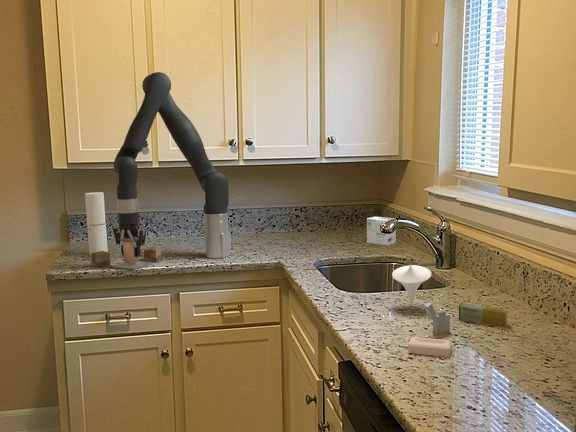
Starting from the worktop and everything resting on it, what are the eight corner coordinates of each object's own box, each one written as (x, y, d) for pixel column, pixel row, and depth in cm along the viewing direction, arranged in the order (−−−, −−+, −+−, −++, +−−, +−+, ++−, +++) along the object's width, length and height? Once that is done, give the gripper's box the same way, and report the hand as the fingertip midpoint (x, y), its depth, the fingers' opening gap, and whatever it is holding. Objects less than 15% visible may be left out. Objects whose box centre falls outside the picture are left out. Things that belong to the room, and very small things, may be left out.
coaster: (151, 264, 226) (151, 262, 226) (133, 270, 217) (133, 268, 217) (130, 262, 231) (129, 260, 231) (112, 268, 222) (111, 266, 222)
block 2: (161, 259, 234) (161, 247, 233) (156, 262, 229) (155, 250, 228) (149, 259, 235) (148, 247, 234) (144, 262, 230) (143, 249, 229)
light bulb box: (396, 243, 254) (396, 218, 253) (387, 246, 250) (387, 220, 248) (375, 240, 262) (375, 215, 260) (366, 242, 257) (366, 217, 255)
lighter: (445, 329, 151) (446, 298, 150) (450, 331, 149) (450, 300, 148) (422, 334, 148) (423, 302, 147) (427, 336, 146) (427, 304, 145)
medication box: (457, 320, 158) (458, 305, 157) (460, 317, 160) (460, 302, 159) (505, 327, 152) (506, 312, 151) (507, 324, 154) (508, 309, 153)
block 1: (110, 265, 226) (109, 252, 226) (98, 268, 223) (97, 254, 222) (104, 263, 230) (103, 250, 229) (91, 266, 227) (90, 253, 226)
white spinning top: (426, 313, 163) (426, 270, 161) (387, 308, 168) (387, 266, 166) (434, 302, 172) (435, 261, 171) (397, 298, 177) (398, 258, 175)
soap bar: (411, 345, 142) (411, 335, 141) (451, 349, 139) (451, 339, 138) (407, 354, 137) (408, 343, 136) (449, 358, 134) (449, 348, 133)
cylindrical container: (102, 256, 242) (97, 194, 238) (86, 255, 244) (81, 194, 240) (111, 252, 249) (106, 192, 245) (95, 252, 250) (90, 192, 246)
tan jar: (142, 260, 225) (140, 236, 224) (132, 263, 220) (130, 239, 219) (130, 259, 227) (128, 235, 226) (120, 262, 222) (118, 238, 221)
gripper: (150, 210, 221) (153, 255, 224) (119, 208, 227) (122, 252, 230) (137, 213, 214) (140, 260, 217) (105, 211, 221) (109, 256, 223)
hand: (131, 256), depth 223 cm, fingers closed on tan jar, 5 cm apart
